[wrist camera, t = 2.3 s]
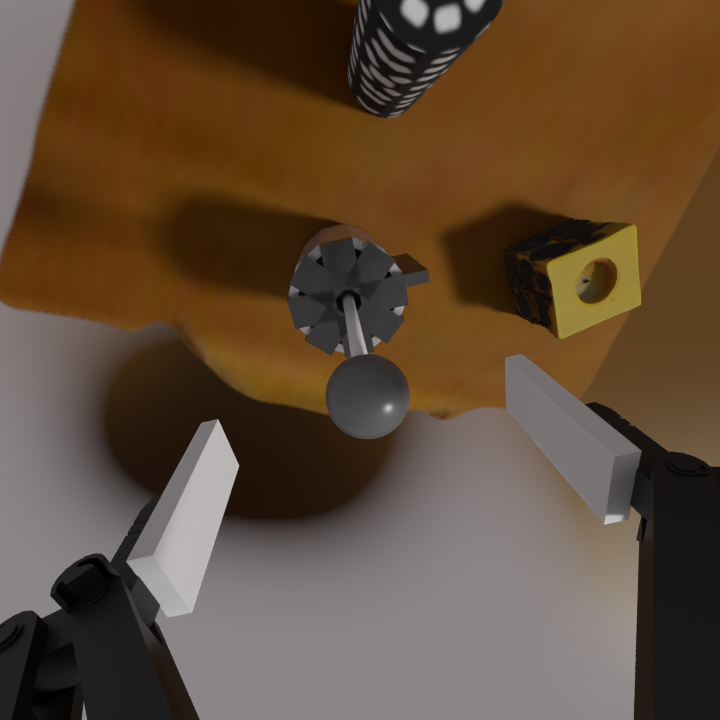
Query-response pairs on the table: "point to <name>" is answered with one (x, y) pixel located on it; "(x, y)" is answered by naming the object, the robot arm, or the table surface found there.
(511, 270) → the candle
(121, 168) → the table surface
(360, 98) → the spotted tube
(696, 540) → the robot arm
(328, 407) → the grey ball-topped rod
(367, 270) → the grey cylinder
